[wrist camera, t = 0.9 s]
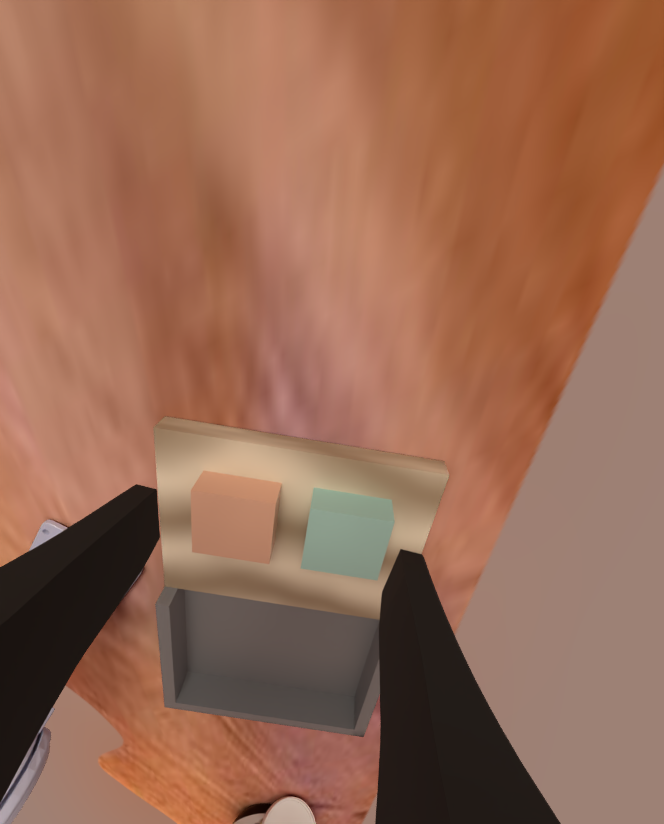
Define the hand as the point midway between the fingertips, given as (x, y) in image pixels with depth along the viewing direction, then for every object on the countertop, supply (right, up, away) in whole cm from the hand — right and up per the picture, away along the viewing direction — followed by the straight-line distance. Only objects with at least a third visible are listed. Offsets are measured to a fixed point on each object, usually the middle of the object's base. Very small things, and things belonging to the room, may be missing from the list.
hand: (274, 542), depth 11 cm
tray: (-3, -16, +22) cm, 28 cm away
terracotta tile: (-4, -2, +14) cm, 15 cm away
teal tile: (+3, -4, +14) cm, 14 cm away
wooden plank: (-1, -4, +16) cm, 17 cm away
